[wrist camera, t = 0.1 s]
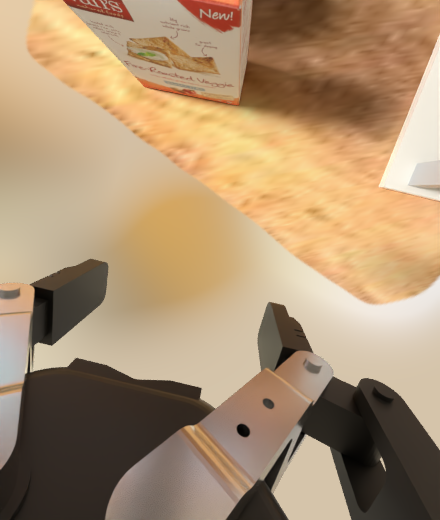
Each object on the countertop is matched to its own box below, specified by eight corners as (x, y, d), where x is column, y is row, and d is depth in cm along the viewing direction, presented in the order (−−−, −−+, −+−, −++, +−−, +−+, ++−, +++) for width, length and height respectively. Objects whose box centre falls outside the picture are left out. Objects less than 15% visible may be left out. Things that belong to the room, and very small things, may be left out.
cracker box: (144, 91, 36) (23, -34, 16) (148, 41, 34) (19, -172, 14) (239, 110, 35) (241, 9, 15) (248, 61, 34) (264, -125, 14)
